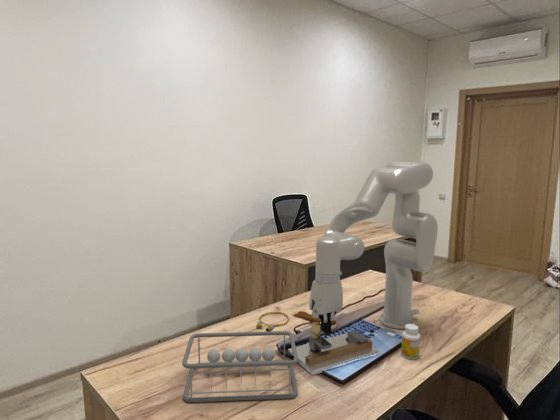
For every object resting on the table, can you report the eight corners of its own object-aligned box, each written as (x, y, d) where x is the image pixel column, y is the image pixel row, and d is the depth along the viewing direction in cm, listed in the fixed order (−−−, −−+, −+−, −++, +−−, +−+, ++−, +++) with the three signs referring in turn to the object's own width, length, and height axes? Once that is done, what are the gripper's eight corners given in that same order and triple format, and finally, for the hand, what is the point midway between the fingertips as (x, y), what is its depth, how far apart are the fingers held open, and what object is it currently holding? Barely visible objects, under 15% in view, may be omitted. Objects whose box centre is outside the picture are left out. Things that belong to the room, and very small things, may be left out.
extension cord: (244, 323, 149) (244, 318, 149) (275, 312, 160) (275, 307, 160) (266, 335, 140) (266, 329, 140) (297, 321, 151) (297, 316, 151)
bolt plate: (350, 336, 139) (351, 323, 138) (378, 354, 127) (379, 341, 126) (287, 353, 127) (288, 340, 126) (312, 375, 115) (312, 360, 114)
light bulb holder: (316, 345, 128) (317, 321, 127) (331, 357, 122) (332, 331, 120) (308, 347, 127) (309, 322, 126) (323, 359, 120) (324, 333, 119)
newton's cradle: (191, 365, 120) (181, 403, 102) (190, 332, 118) (180, 365, 100) (291, 362, 122) (298, 398, 104) (292, 330, 120) (299, 361, 103)
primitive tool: (291, 316, 156) (291, 308, 155) (300, 312, 160) (301, 304, 159) (332, 332, 143) (332, 323, 142) (341, 327, 147) (341, 318, 146)
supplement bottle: (398, 351, 129) (400, 322, 127) (414, 350, 129) (416, 322, 128) (404, 360, 124) (406, 330, 122) (421, 359, 124) (423, 330, 123)
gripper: (339, 270, 131) (337, 322, 134) (300, 276, 124) (299, 332, 127) (354, 276, 125) (352, 331, 128) (314, 284, 118) (312, 342, 121)
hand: (326, 332), depth 127 cm, fingers closed
